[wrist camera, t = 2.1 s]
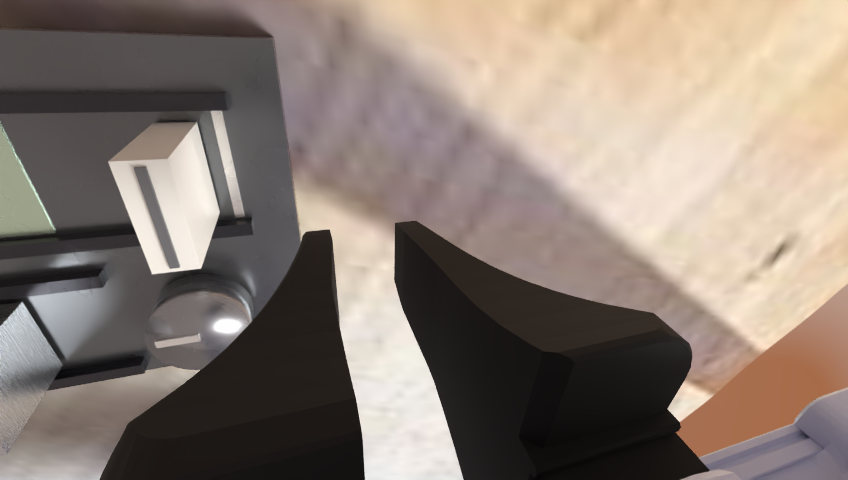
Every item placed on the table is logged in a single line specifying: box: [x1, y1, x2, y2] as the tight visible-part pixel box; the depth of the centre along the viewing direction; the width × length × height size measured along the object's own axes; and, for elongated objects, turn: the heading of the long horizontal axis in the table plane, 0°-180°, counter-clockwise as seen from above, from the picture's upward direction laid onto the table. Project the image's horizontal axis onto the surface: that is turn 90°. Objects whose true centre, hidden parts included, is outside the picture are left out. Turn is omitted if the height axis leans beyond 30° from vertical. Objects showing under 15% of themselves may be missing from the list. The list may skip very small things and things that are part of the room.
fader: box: [108, 122, 220, 274], centre depth 14 cm, size 4×2×5 cm, turn 177°
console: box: [0, 27, 301, 455], centre depth 15 cm, size 16×16×6 cm
